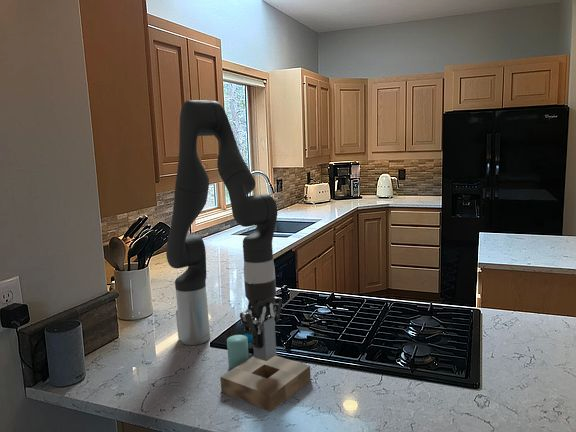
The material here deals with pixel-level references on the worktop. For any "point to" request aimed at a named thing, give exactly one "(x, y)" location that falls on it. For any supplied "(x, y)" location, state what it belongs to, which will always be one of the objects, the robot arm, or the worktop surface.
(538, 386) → the worktop surface
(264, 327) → the square peg
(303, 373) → the socket block
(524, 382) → the worktop surface
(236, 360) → the round peg
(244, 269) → the robot arm
